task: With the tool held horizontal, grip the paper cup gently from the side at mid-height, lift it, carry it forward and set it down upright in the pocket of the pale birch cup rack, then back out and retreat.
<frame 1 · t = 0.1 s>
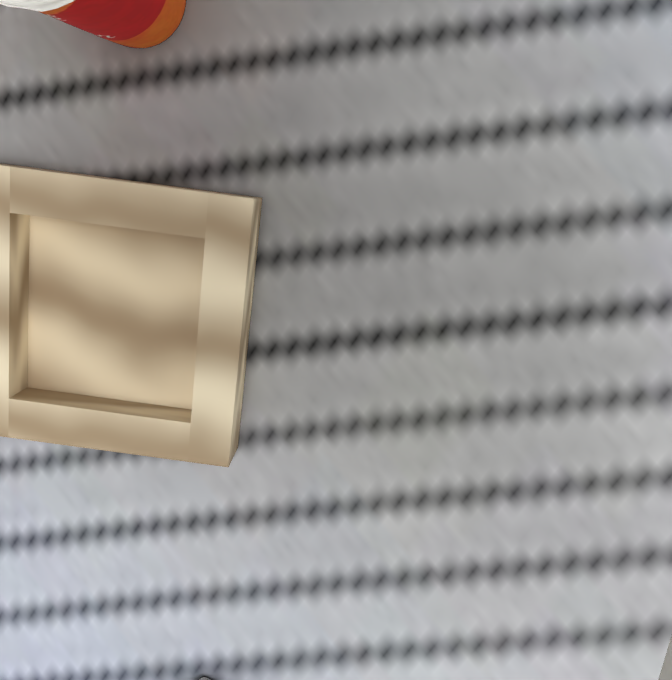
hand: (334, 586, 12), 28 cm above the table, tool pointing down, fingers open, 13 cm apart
cup rack: (122, 311, 40), on the table
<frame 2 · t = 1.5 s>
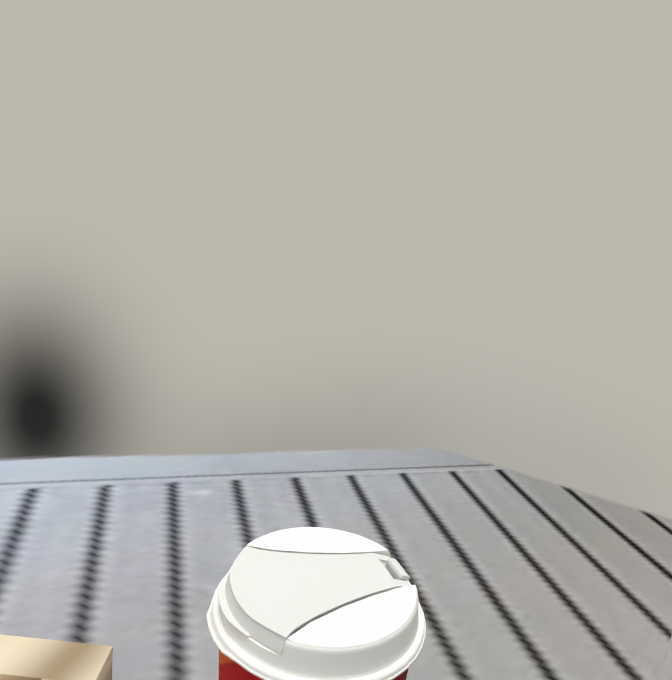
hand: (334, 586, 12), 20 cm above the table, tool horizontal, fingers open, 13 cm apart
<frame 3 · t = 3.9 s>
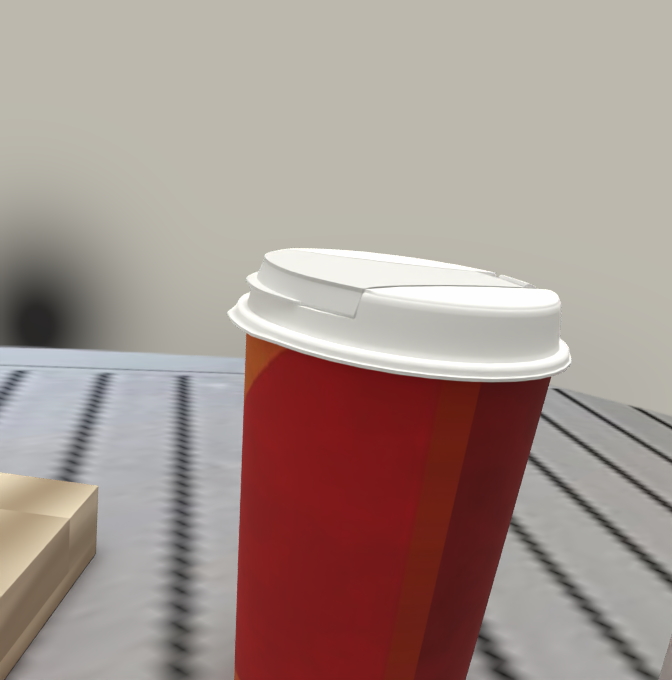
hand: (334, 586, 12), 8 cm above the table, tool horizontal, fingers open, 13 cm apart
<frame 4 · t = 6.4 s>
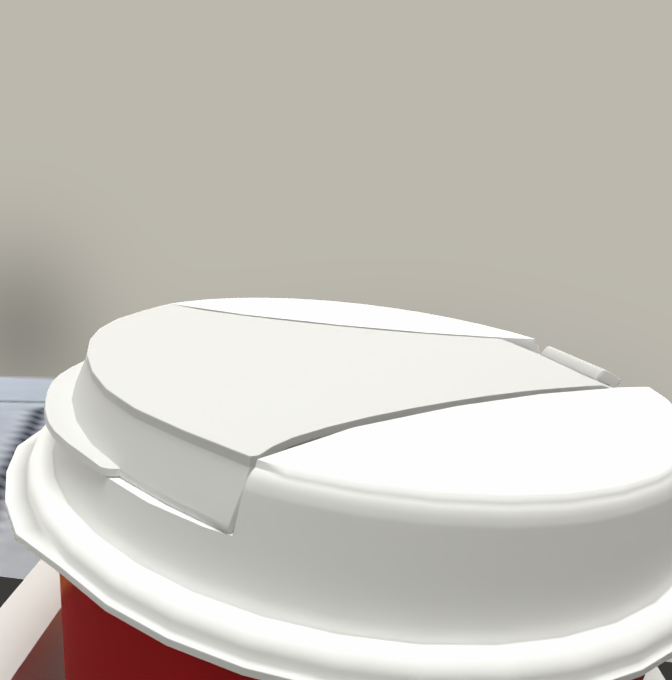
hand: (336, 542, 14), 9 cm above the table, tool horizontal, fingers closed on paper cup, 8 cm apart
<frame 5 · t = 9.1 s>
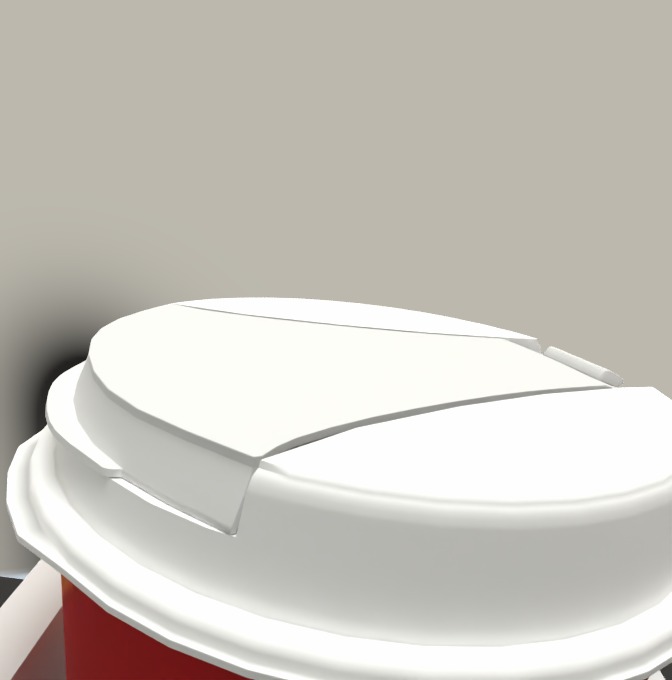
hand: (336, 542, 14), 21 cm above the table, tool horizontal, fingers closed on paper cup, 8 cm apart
when the fingers open (10 cm above the table, at t = 11.9 s): paper cup drops 1 cm, resting on cup rack.
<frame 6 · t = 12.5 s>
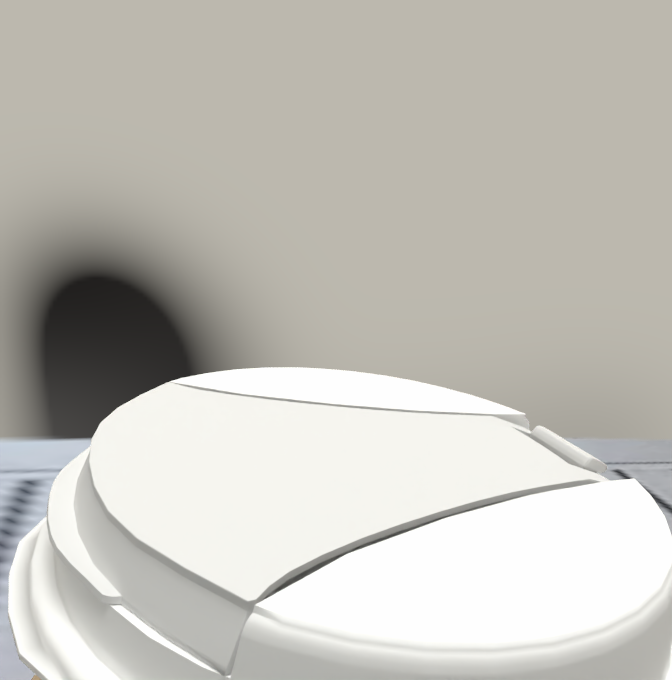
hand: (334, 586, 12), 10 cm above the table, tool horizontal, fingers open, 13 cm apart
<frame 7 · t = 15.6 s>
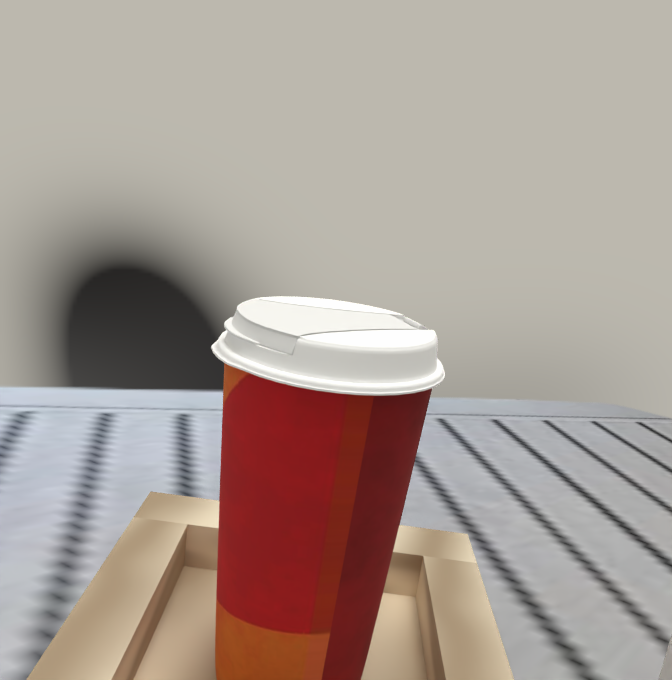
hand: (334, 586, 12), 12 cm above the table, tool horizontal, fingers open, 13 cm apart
paper cup: (285, 674, 25), point 1 cm above the table, touching cup rack
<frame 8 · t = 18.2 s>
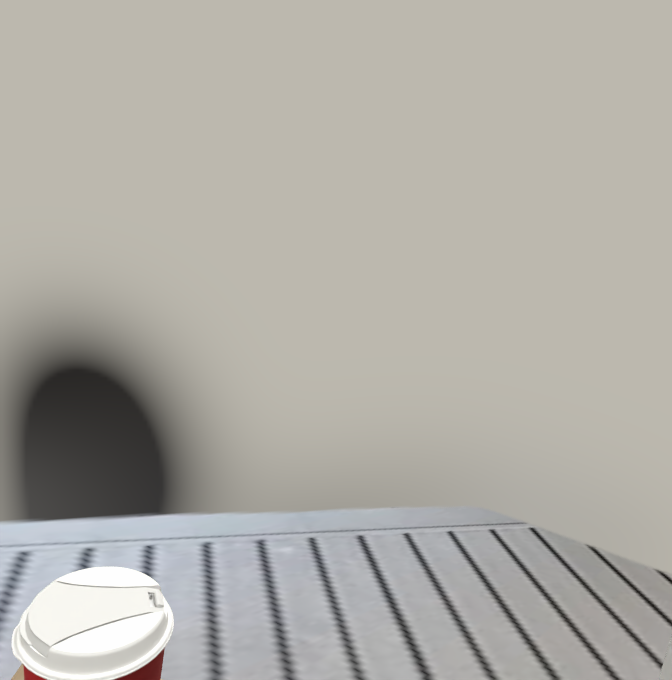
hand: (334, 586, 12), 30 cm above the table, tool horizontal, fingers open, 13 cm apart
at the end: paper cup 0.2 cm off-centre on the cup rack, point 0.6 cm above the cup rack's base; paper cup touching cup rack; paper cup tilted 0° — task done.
